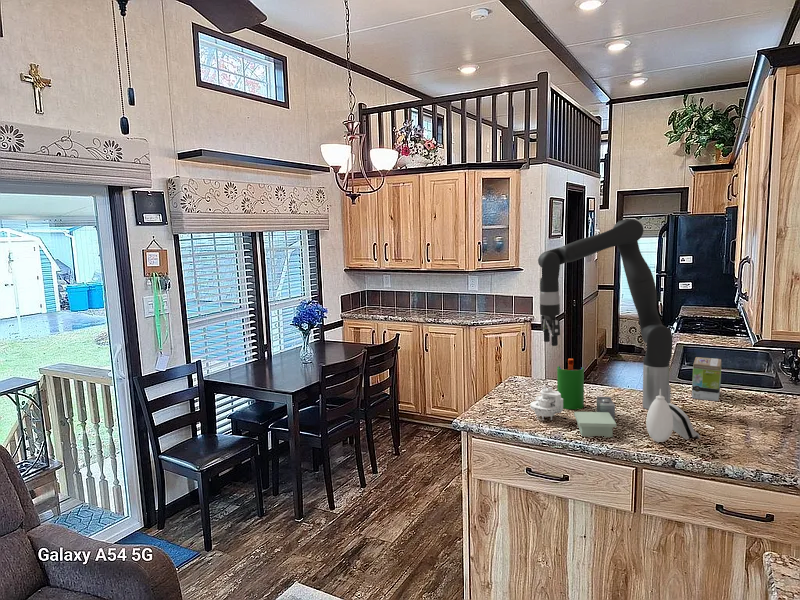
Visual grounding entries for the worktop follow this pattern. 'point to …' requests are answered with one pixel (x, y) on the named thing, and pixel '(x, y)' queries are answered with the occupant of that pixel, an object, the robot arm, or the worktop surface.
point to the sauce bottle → (659, 419)
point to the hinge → (682, 423)
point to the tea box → (706, 378)
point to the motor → (571, 386)
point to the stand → (595, 423)
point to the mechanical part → (547, 403)
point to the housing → (606, 406)
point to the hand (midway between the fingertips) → (550, 343)
